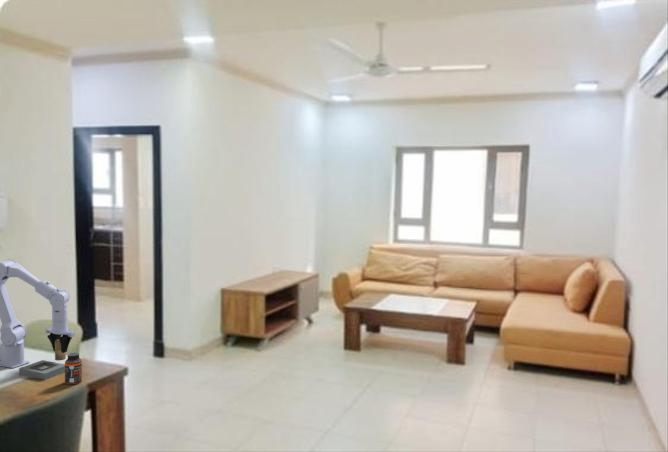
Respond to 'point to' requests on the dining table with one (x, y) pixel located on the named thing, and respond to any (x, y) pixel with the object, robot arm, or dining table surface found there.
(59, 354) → the peg
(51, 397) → the dining table surface
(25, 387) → the dining table surface
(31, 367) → the board
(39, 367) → the pad
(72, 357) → the supplement bottle
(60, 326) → the robot arm
